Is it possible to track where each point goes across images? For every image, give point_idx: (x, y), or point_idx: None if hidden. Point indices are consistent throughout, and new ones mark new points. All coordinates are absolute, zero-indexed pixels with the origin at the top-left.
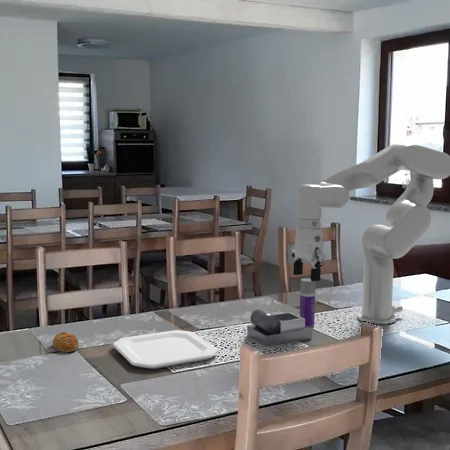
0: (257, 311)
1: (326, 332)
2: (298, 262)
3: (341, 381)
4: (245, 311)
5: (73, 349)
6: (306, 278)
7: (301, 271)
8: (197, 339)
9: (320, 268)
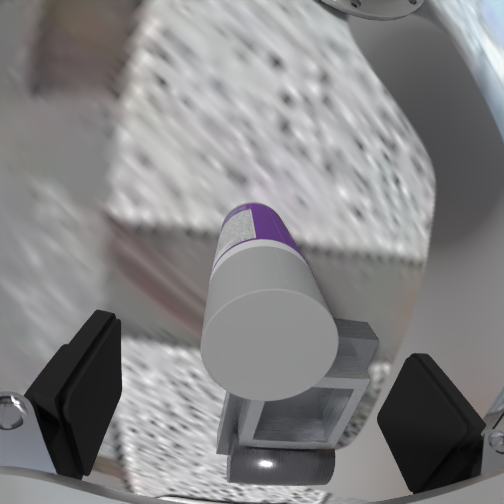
0: (244, 483)
1: (361, 233)
2: (68, 454)
3: (500, 403)
4: (5, 289)
5: None
6: (215, 325)
7: (111, 347)
8: None
9: (482, 424)
